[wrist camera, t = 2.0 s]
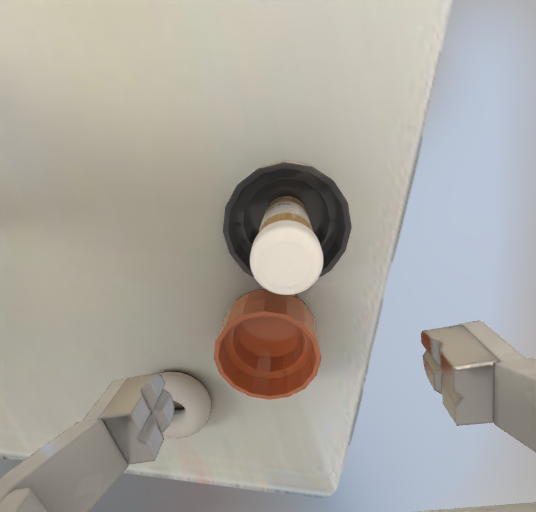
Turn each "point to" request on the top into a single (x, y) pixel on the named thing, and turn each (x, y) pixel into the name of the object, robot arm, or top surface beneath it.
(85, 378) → the top surface
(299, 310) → the terracotta bowl
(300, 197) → the charcoal bowl
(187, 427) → the donut
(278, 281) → the sprinkles bottle
